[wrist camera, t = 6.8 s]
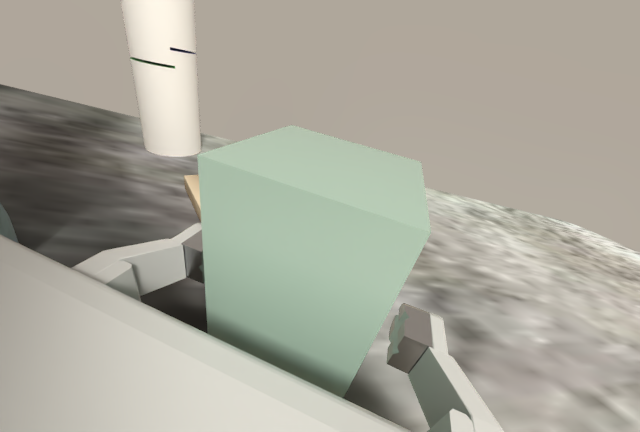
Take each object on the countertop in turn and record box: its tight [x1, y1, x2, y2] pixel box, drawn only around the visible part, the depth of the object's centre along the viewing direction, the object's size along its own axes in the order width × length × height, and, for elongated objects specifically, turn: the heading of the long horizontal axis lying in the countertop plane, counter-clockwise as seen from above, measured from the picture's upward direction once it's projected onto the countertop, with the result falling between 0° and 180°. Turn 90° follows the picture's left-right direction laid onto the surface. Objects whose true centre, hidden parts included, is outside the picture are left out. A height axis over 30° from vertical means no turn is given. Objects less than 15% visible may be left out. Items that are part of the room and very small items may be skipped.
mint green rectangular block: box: [198, 125, 431, 398], centre depth 11 cm, size 6×6×12 cm
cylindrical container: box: [120, 0, 201, 157], centre depth 30 cm, size 7×7×25 cm
